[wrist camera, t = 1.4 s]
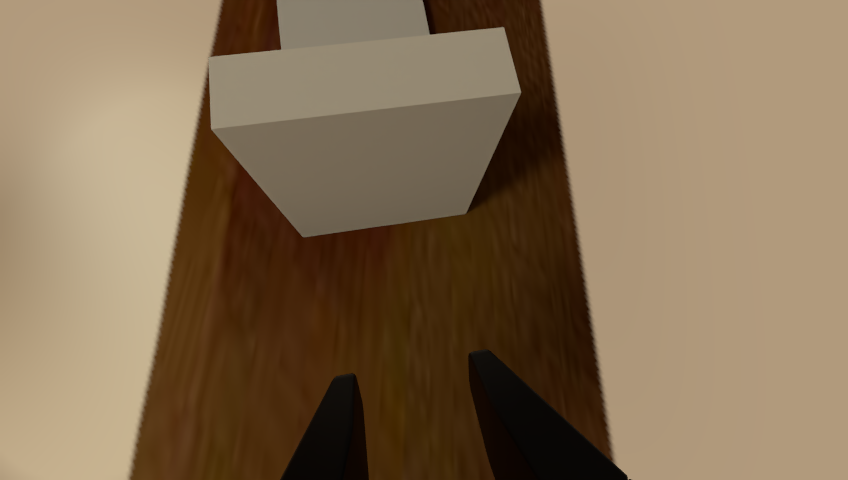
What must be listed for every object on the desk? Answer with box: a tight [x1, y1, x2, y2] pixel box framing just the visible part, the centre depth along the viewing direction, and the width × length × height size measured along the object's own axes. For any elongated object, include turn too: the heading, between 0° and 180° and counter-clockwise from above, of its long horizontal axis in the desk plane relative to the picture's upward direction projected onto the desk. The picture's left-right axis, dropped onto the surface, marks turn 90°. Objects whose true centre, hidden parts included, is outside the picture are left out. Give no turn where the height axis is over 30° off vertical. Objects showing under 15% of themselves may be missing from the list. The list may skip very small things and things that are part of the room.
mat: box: [277, 0, 430, 50], centre depth 25 cm, size 10×9×1 cm
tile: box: [209, 27, 521, 237], centre depth 17 cm, size 3×9×11 cm, turn 100°
